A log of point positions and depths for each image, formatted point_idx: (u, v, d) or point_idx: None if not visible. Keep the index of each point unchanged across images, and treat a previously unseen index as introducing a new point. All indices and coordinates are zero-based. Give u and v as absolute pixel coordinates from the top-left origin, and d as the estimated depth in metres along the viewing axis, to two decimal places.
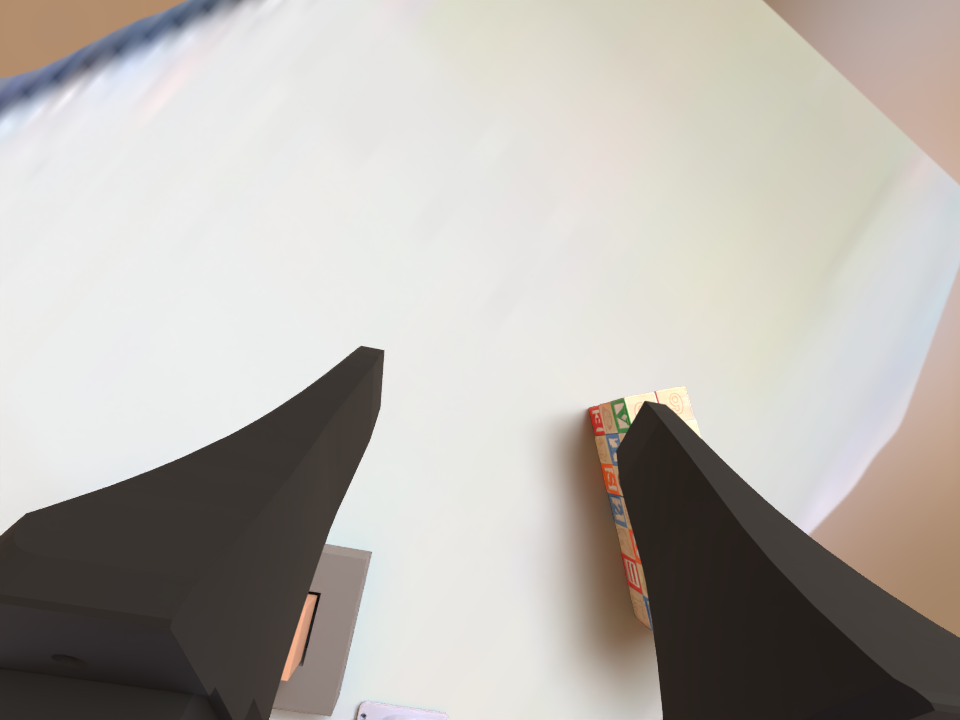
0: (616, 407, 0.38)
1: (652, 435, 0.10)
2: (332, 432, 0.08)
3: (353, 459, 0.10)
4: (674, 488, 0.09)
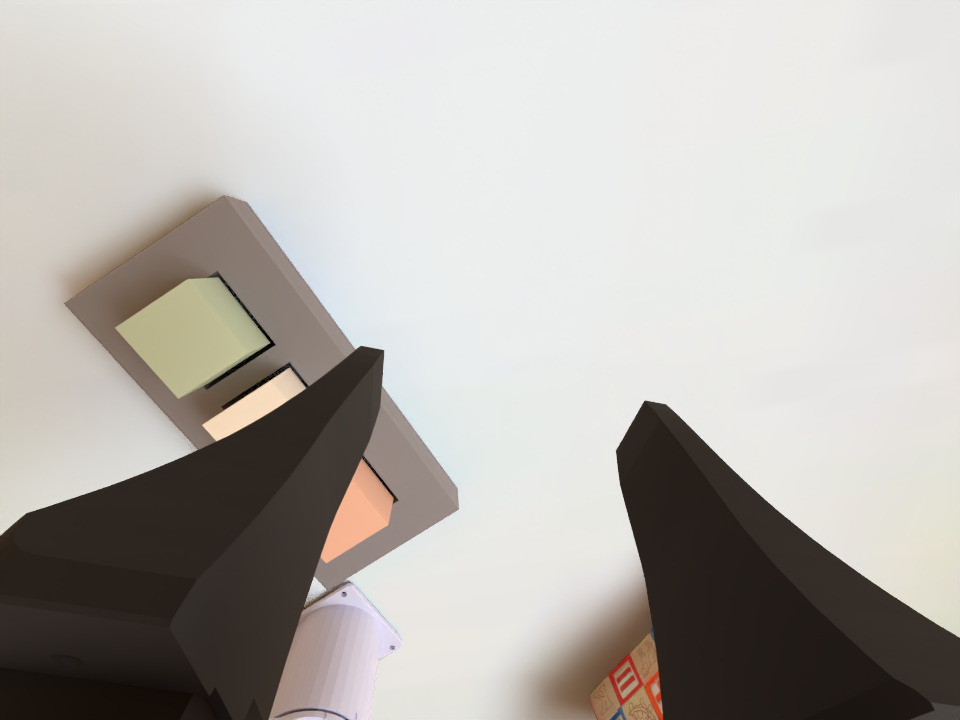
0: None
1: (652, 435, 0.10)
2: (331, 432, 0.08)
3: (353, 459, 0.10)
4: (674, 488, 0.09)
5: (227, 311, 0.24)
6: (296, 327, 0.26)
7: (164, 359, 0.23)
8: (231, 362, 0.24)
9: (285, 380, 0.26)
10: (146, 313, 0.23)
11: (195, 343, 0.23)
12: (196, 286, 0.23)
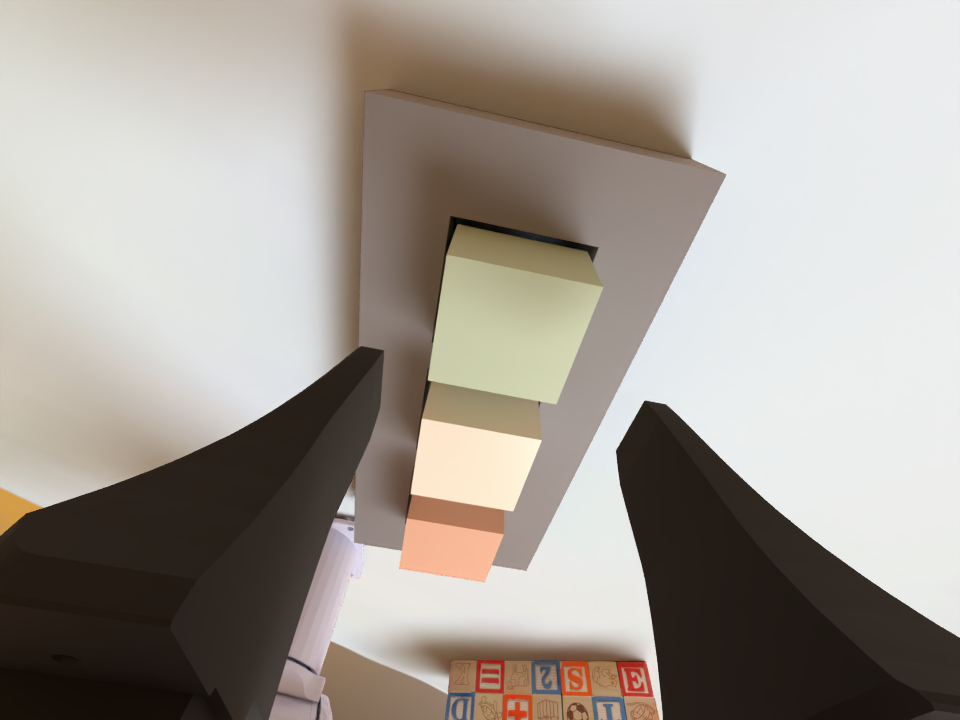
0: None
1: (652, 435, 0.10)
2: (332, 432, 0.08)
3: (353, 459, 0.10)
4: (674, 488, 0.09)
5: None
6: (594, 370, 0.18)
7: (461, 336, 0.14)
8: (528, 398, 0.15)
9: None
10: (506, 275, 0.13)
11: (517, 352, 0.14)
12: None
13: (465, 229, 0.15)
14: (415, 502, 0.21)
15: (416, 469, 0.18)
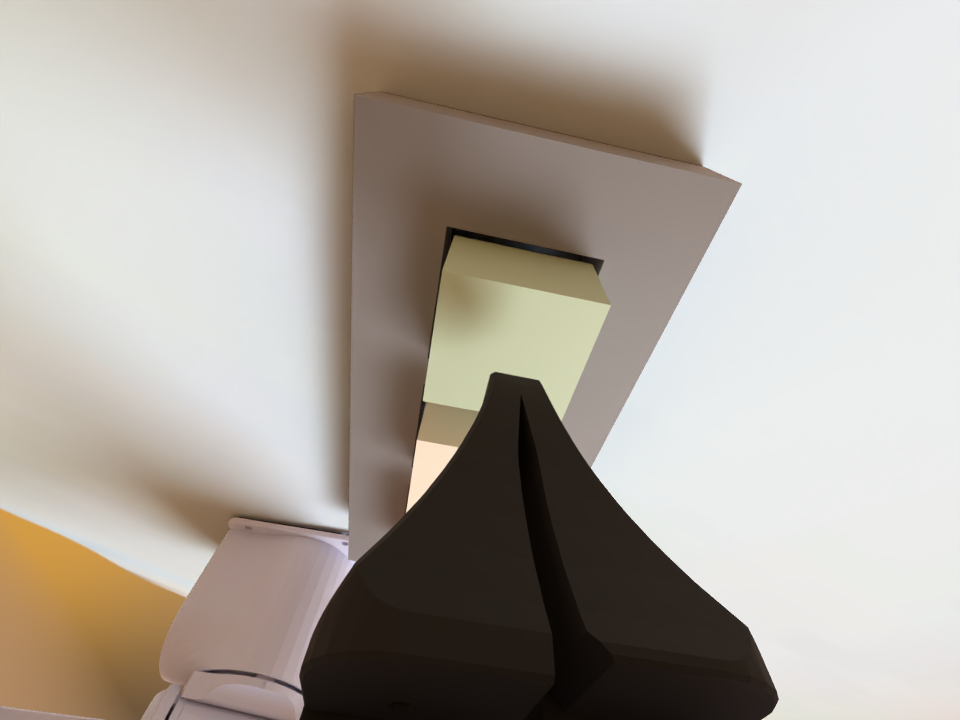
0: None
1: None
2: None
3: None
4: (520, 460, 0.09)
5: None
6: (598, 387, 0.17)
7: (458, 356, 0.13)
8: None
9: None
10: (506, 293, 0.12)
11: (518, 372, 0.13)
12: None
13: (462, 241, 0.14)
14: None
15: (411, 491, 0.17)
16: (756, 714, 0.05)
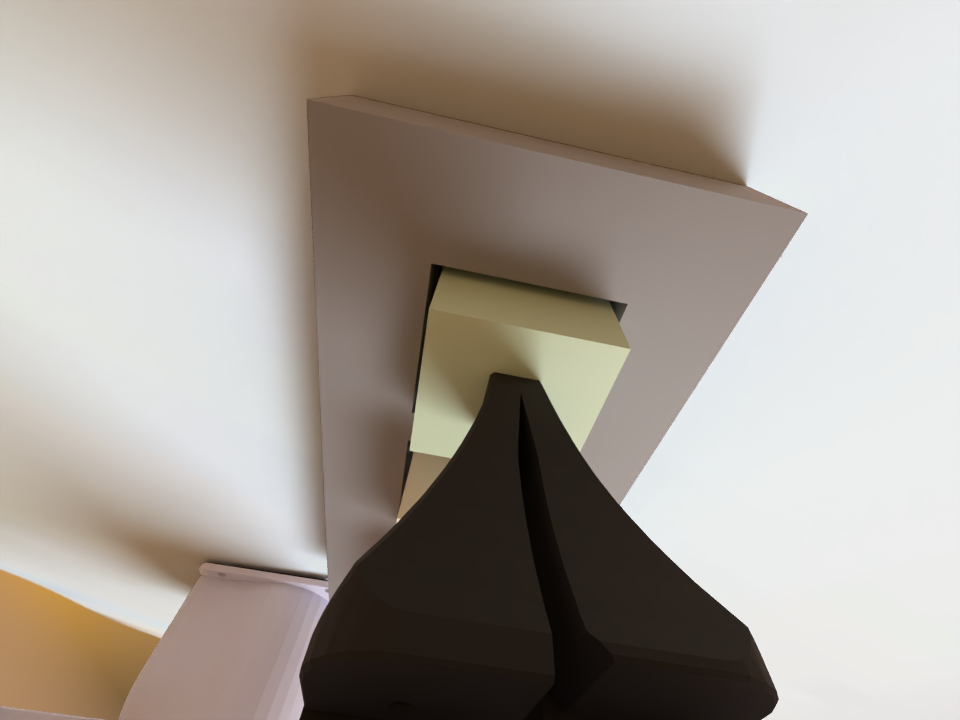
0: None
1: None
2: None
3: None
4: (520, 461, 0.09)
5: None
6: (616, 446, 0.15)
7: (449, 403, 0.11)
8: None
9: None
10: (505, 334, 0.10)
11: None
12: None
13: (455, 268, 0.12)
14: None
15: None
16: (756, 715, 0.05)
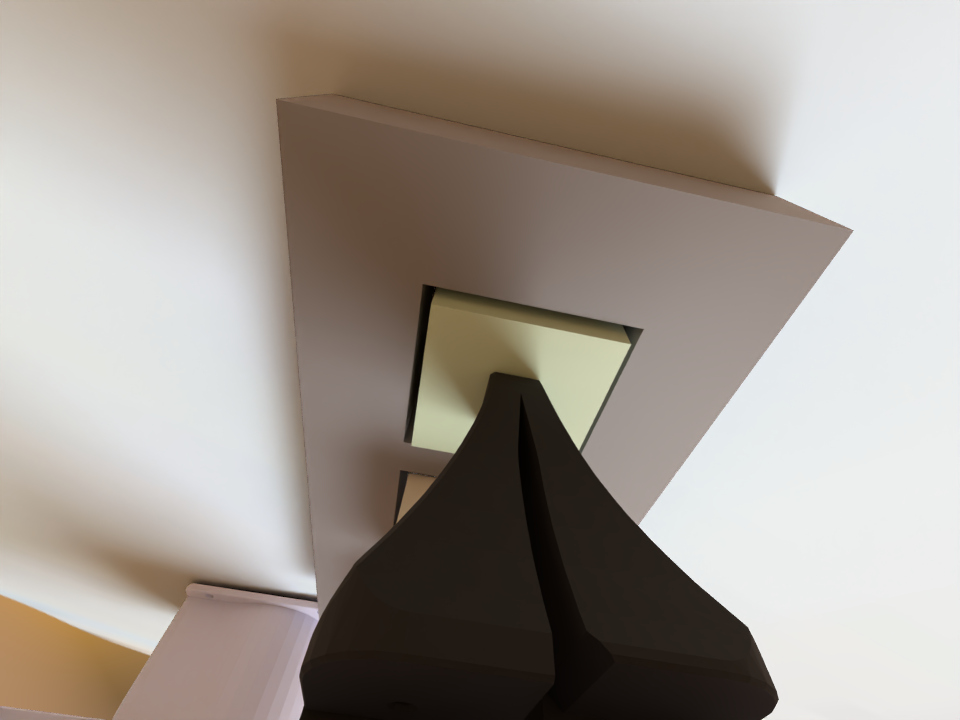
0: None
1: None
2: None
3: None
4: (520, 460, 0.09)
5: None
6: (626, 478, 0.13)
7: (451, 398, 0.11)
8: None
9: None
10: (507, 329, 0.10)
11: None
12: None
13: None
14: None
15: None
16: (756, 714, 0.05)
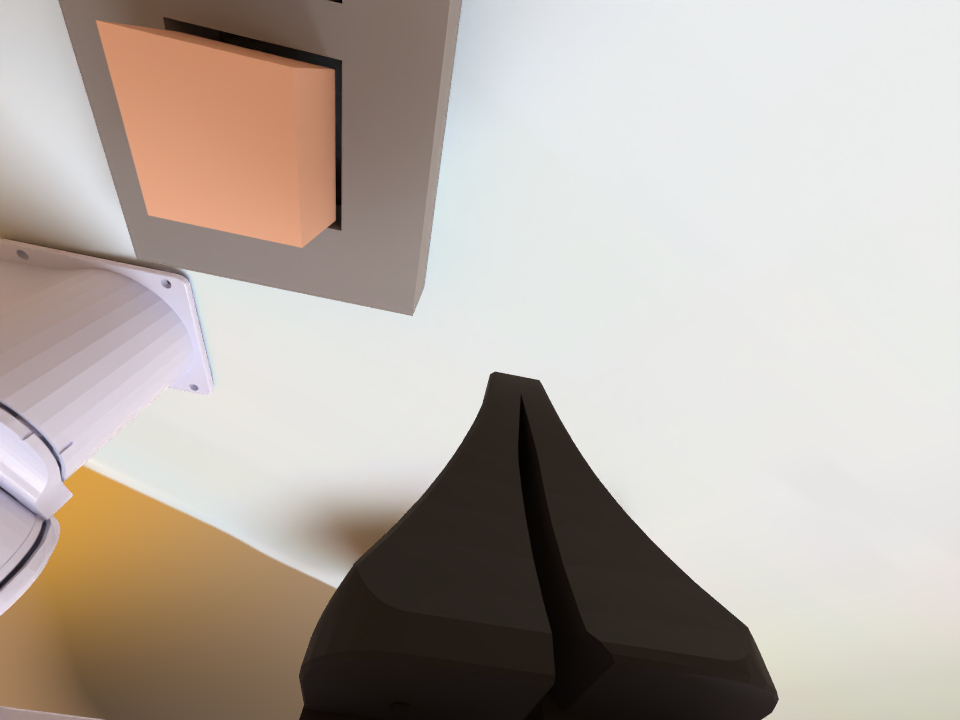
0: None
1: None
2: None
3: None
4: (520, 461, 0.09)
5: None
6: None
7: None
8: None
9: None
10: None
11: None
12: None
13: None
14: (135, 26, 0.11)
15: None
16: (756, 714, 0.05)
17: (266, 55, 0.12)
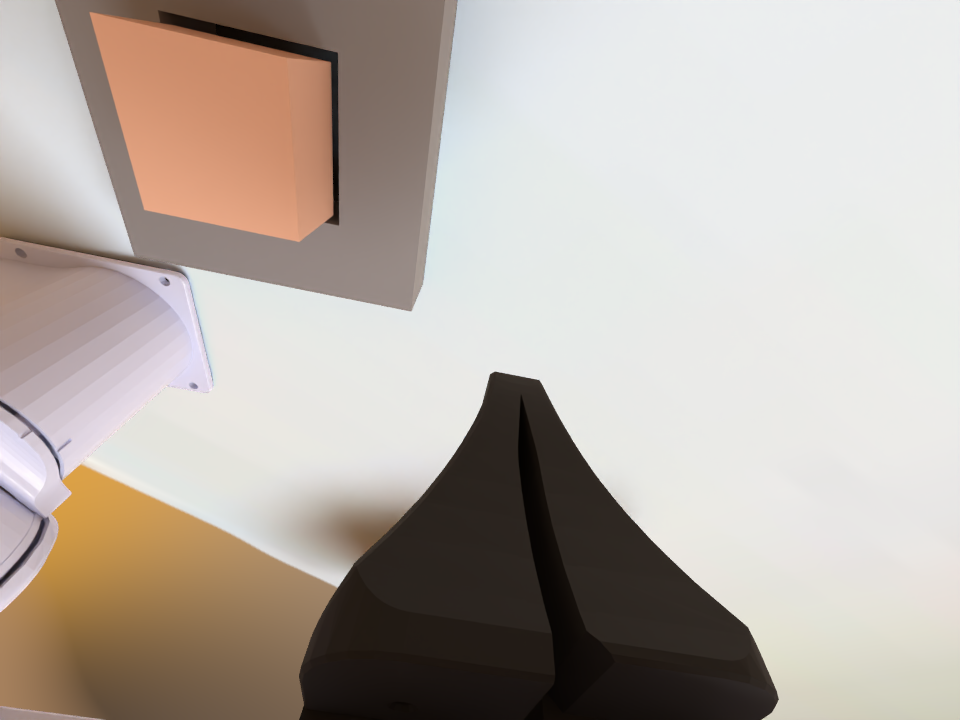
0: None
1: None
2: None
3: None
4: (520, 460, 0.09)
5: None
6: None
7: None
8: None
9: None
10: None
11: None
12: None
13: None
14: (129, 19, 0.11)
15: None
16: (756, 714, 0.05)
17: (261, 47, 0.12)
